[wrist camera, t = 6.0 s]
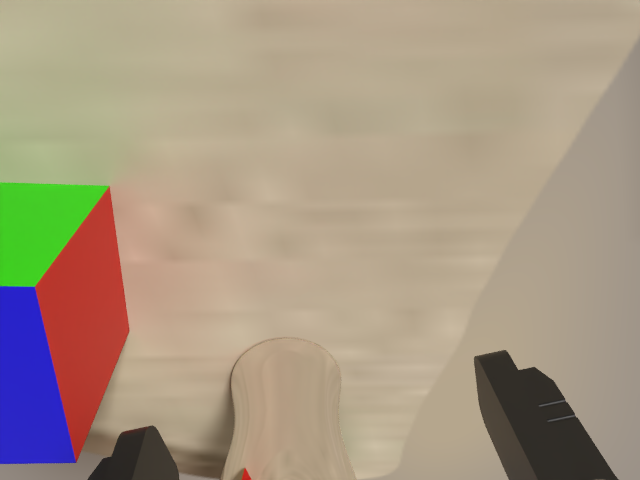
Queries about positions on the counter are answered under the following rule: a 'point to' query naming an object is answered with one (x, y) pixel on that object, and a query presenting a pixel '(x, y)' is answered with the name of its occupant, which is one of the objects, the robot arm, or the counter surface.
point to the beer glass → (286, 415)
